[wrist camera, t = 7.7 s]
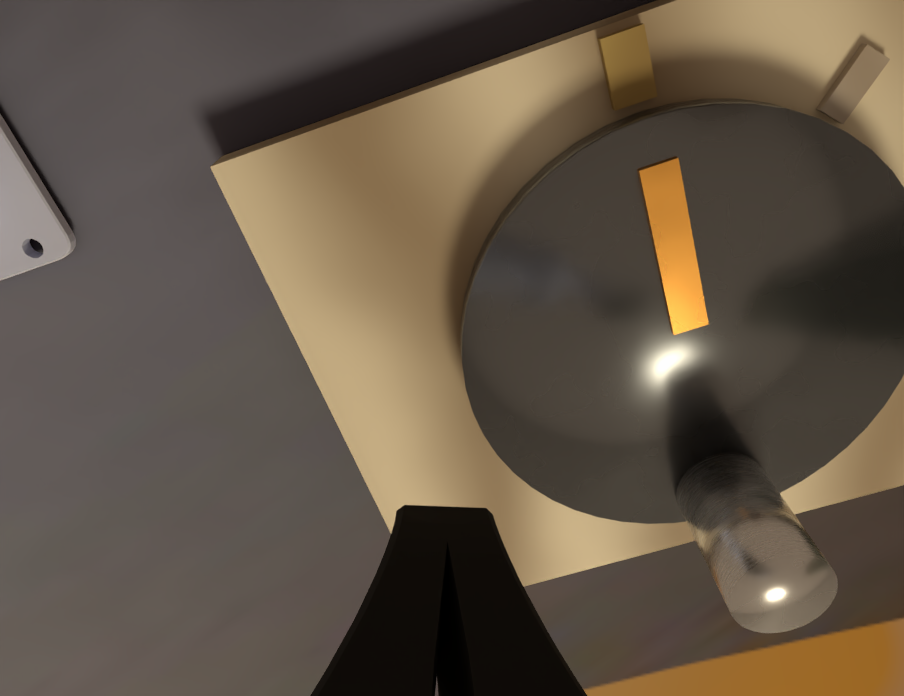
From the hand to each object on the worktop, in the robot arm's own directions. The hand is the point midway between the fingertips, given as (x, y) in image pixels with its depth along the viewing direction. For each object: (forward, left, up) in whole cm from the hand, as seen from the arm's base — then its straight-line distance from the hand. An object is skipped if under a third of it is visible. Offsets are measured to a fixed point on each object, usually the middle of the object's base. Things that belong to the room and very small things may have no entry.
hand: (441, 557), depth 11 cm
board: (+6, -3, -10) cm, 12 cm away
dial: (+6, -3, -9) cm, 11 cm away
